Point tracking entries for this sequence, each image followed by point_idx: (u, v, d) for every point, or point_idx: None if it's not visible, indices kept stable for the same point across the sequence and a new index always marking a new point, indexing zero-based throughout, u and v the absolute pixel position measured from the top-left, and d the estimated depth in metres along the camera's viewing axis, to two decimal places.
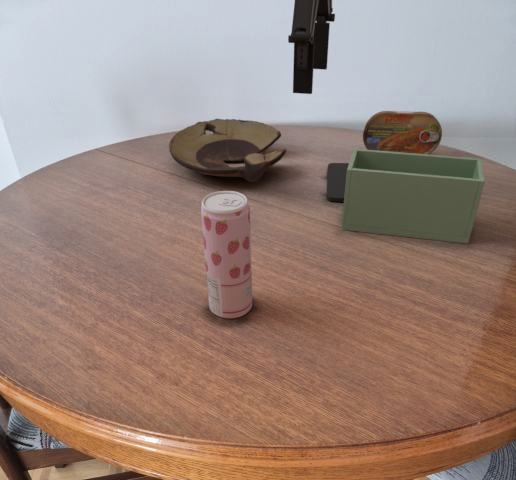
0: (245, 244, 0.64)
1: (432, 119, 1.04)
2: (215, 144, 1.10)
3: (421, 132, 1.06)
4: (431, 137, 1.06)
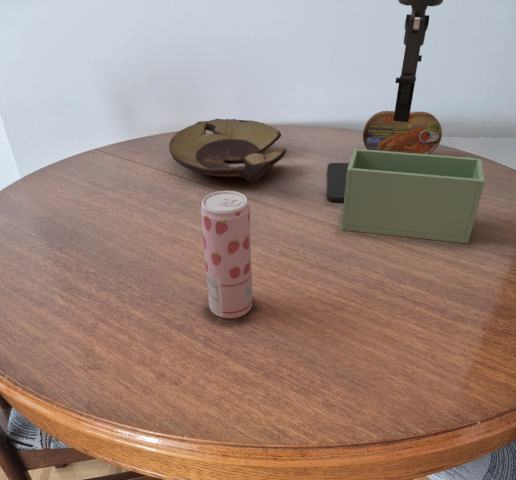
0: (245, 244, 0.63)
1: (432, 119, 1.04)
2: (215, 143, 1.10)
3: (421, 132, 1.06)
4: (431, 137, 1.06)
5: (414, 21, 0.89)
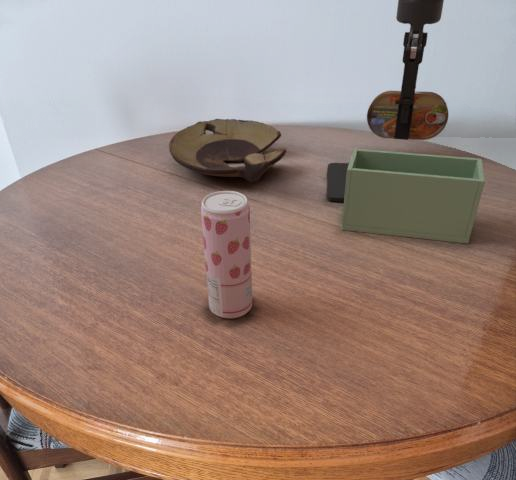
0: (245, 244, 0.63)
1: (438, 100, 1.00)
2: (215, 143, 1.10)
3: (427, 113, 1.02)
4: (437, 118, 1.02)
5: (410, 52, 0.92)
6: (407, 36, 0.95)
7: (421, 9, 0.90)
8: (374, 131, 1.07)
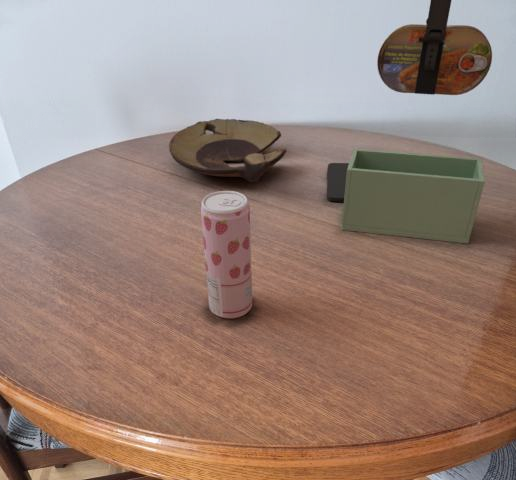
0: (245, 244, 0.64)
1: (479, 36, 0.71)
2: (215, 143, 1.10)
3: (461, 56, 0.73)
4: (476, 64, 0.73)
5: None
6: None
7: None
8: (387, 83, 0.78)
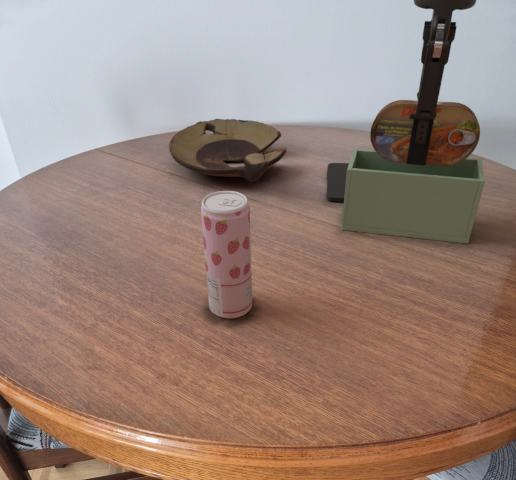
0: (245, 244, 0.64)
1: (467, 114, 0.74)
2: (215, 143, 1.10)
3: (451, 131, 0.76)
4: (465, 138, 0.76)
5: (434, 49, 0.66)
6: (428, 26, 0.69)
7: None
8: (380, 153, 0.80)
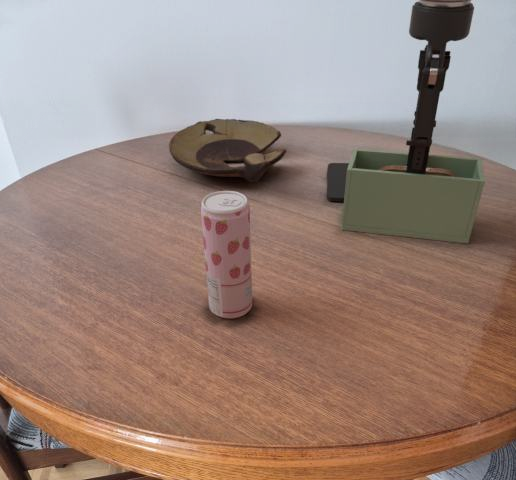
0: (245, 244, 0.64)
1: None
2: (215, 143, 1.10)
3: None
4: None
5: (429, 75, 0.68)
6: (423, 56, 0.71)
7: (444, 21, 0.66)
8: None
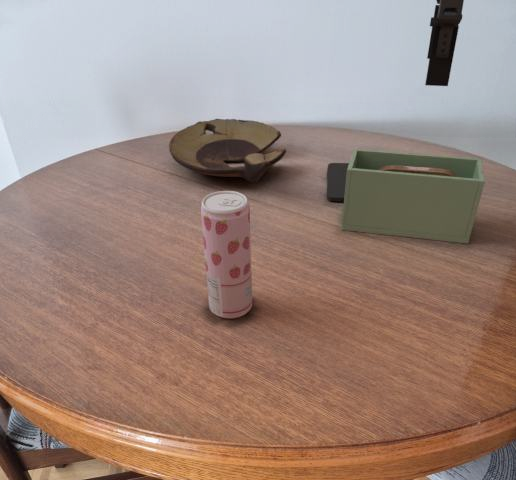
0: (245, 244, 0.63)
1: None
2: (215, 143, 1.10)
3: None
4: None
5: None
6: None
7: None
8: None
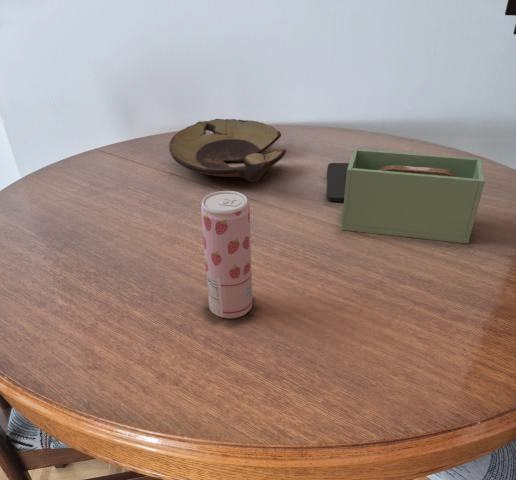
0: (245, 244, 0.64)
1: None
2: (215, 143, 1.10)
3: None
4: None
5: None
6: None
7: None
8: None
